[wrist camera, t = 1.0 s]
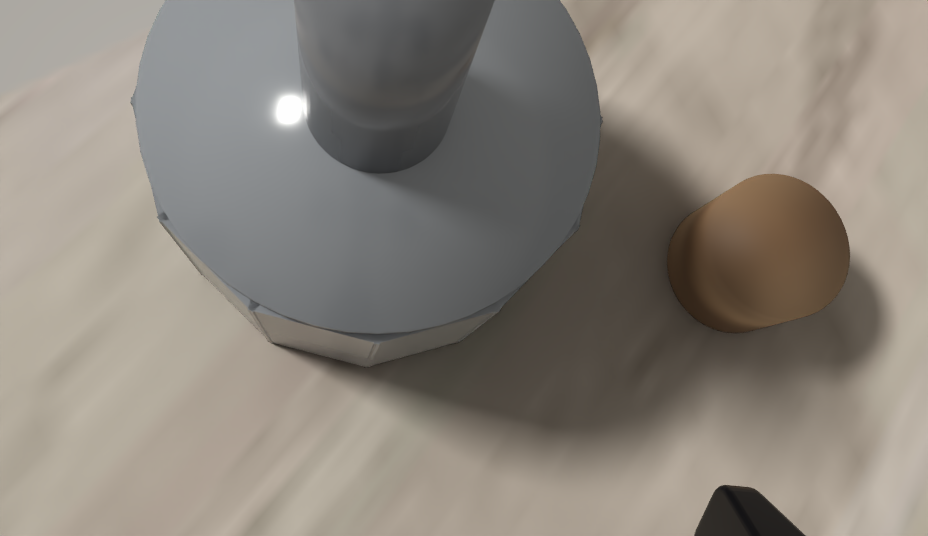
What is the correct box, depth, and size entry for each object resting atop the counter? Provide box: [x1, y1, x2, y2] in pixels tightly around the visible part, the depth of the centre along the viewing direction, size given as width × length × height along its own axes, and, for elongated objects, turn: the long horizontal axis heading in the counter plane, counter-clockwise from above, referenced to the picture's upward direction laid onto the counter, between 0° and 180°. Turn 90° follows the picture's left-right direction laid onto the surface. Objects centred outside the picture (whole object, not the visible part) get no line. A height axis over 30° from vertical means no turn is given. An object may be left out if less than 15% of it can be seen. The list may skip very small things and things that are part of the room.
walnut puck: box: [667, 174, 850, 333], centre depth 23 cm, size 4×4×3 cm
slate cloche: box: [130, 0, 603, 368], centre depth 18 cm, size 10×10×12 cm
